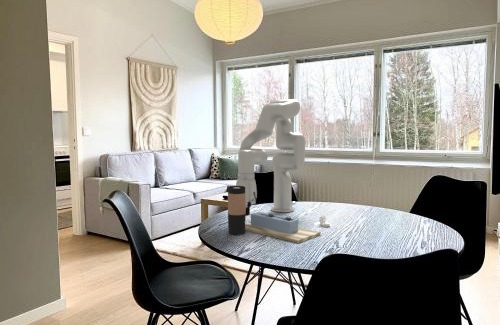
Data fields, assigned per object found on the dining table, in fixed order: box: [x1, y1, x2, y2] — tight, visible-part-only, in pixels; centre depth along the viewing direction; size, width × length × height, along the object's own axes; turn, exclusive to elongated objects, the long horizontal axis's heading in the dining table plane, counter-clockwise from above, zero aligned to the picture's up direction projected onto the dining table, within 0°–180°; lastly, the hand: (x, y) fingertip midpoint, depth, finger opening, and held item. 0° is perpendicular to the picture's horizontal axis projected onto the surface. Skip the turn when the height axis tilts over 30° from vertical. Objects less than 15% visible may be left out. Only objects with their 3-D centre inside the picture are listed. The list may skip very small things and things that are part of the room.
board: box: [245, 212, 322, 244], centre depth 167 cm, size 16×32×7 cm, turn 47°
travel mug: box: [227, 185, 247, 236], centre depth 164 cm, size 8×8×20 cm
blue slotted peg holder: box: [250, 211, 299, 234], centre depth 169 cm, size 6×22×5 cm, turn 47°
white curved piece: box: [313, 215, 332, 228], centre depth 179 cm, size 9×8×4 cm
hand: (246, 215), depth 180 cm, fingers closed
